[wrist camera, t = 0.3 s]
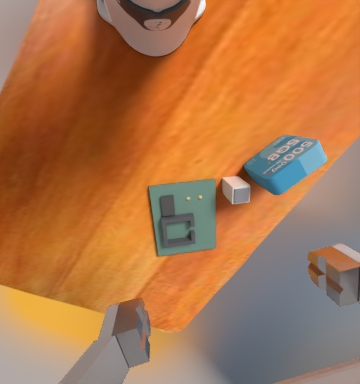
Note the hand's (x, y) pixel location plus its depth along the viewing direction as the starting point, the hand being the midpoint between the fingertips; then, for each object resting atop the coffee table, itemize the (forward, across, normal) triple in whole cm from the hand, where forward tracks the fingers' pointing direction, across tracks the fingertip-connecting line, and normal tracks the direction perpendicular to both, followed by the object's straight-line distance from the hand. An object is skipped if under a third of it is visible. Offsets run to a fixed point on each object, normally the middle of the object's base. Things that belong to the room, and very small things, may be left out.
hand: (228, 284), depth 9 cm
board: (+40, 0, +14) cm, 42 cm away
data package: (+39, -23, +3) cm, 45 cm away
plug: (+39, -13, +8) cm, 42 cm away
